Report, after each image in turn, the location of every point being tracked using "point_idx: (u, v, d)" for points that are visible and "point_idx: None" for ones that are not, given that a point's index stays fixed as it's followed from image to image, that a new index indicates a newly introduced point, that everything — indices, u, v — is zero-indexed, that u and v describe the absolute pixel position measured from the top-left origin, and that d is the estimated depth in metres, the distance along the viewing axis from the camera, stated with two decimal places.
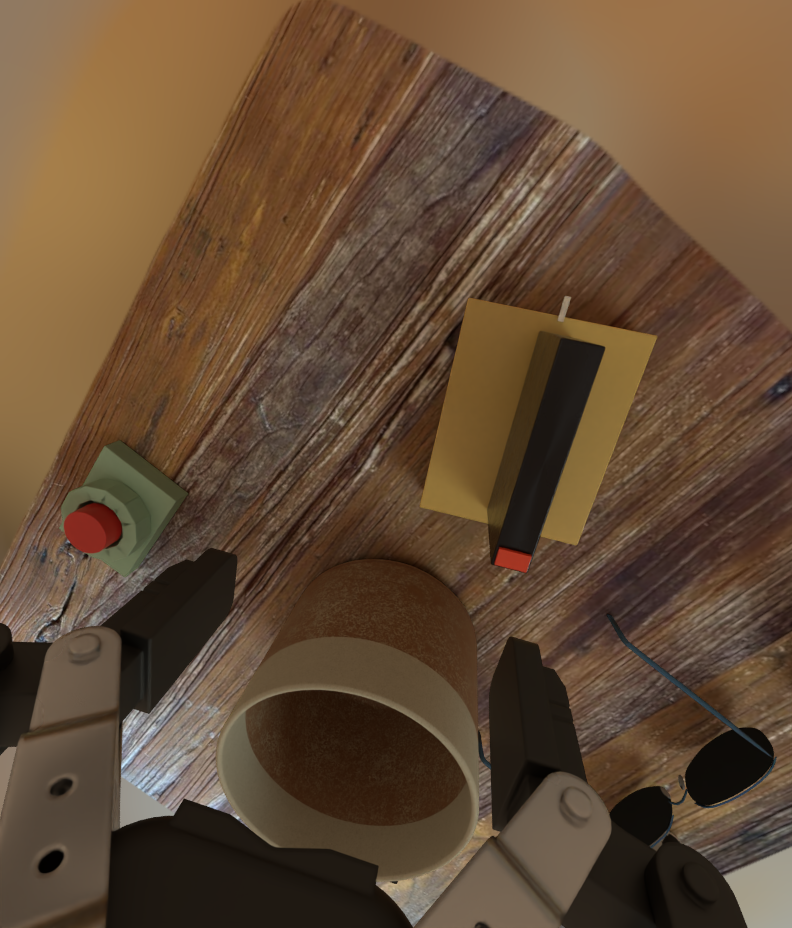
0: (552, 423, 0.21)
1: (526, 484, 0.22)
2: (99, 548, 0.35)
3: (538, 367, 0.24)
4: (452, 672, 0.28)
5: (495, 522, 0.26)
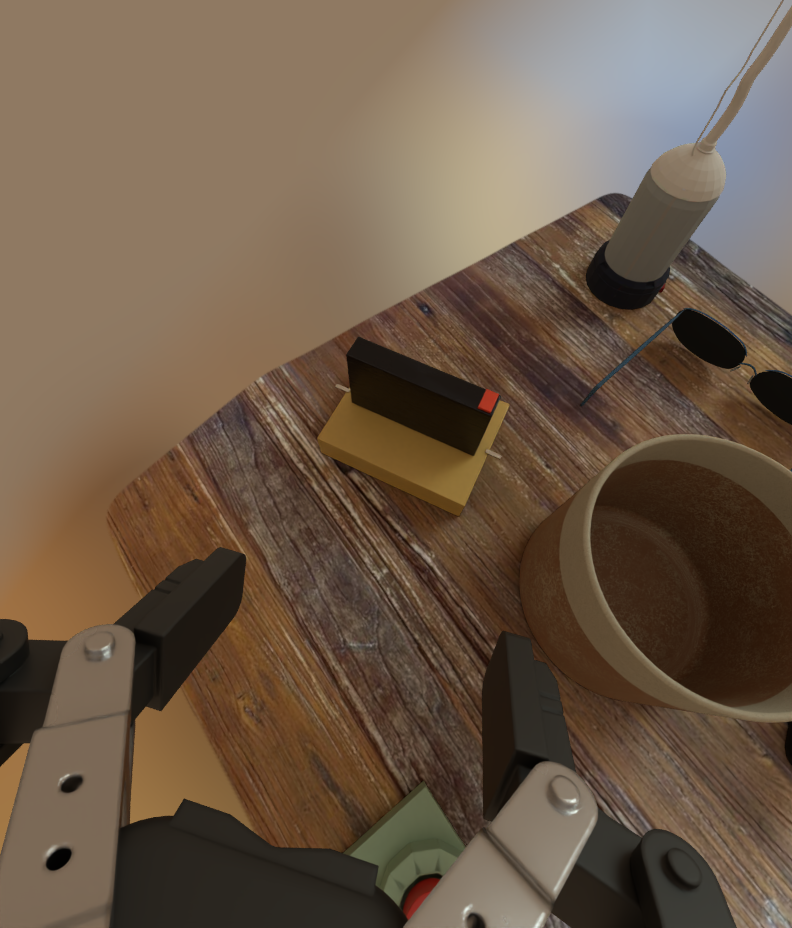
0: (395, 365, 0.34)
1: (433, 384, 0.33)
2: None
3: (367, 389, 0.37)
4: None
5: (468, 423, 0.35)
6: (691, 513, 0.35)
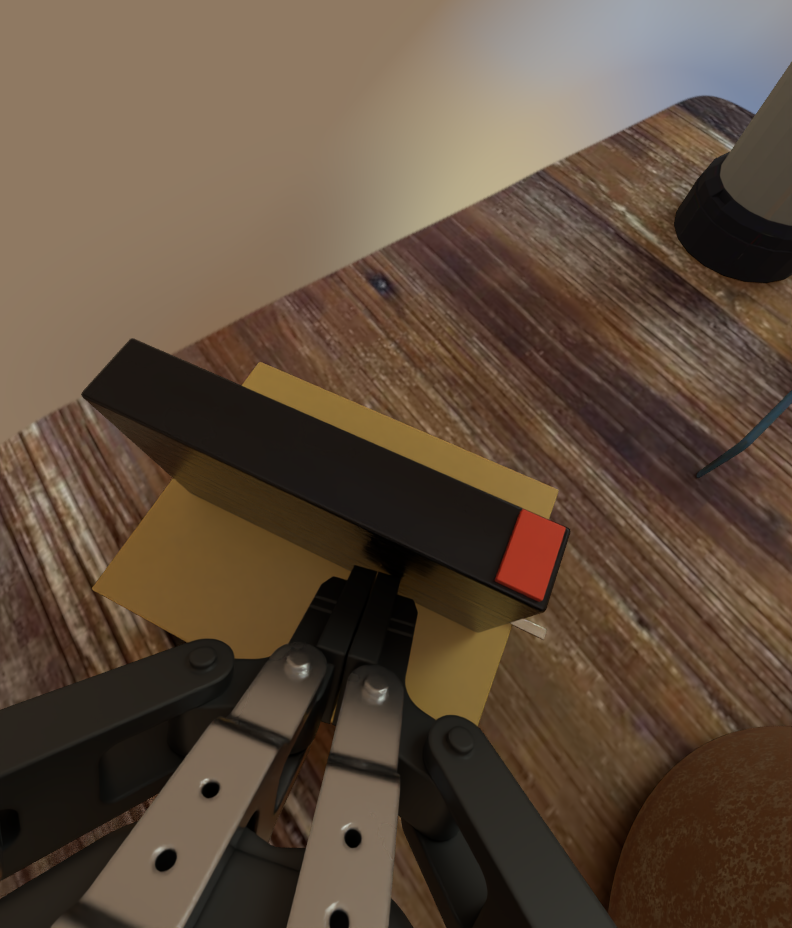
0: (227, 429, 0.11)
1: (345, 493, 0.10)
2: None
3: (193, 477, 0.14)
4: None
5: (462, 597, 0.12)
6: None
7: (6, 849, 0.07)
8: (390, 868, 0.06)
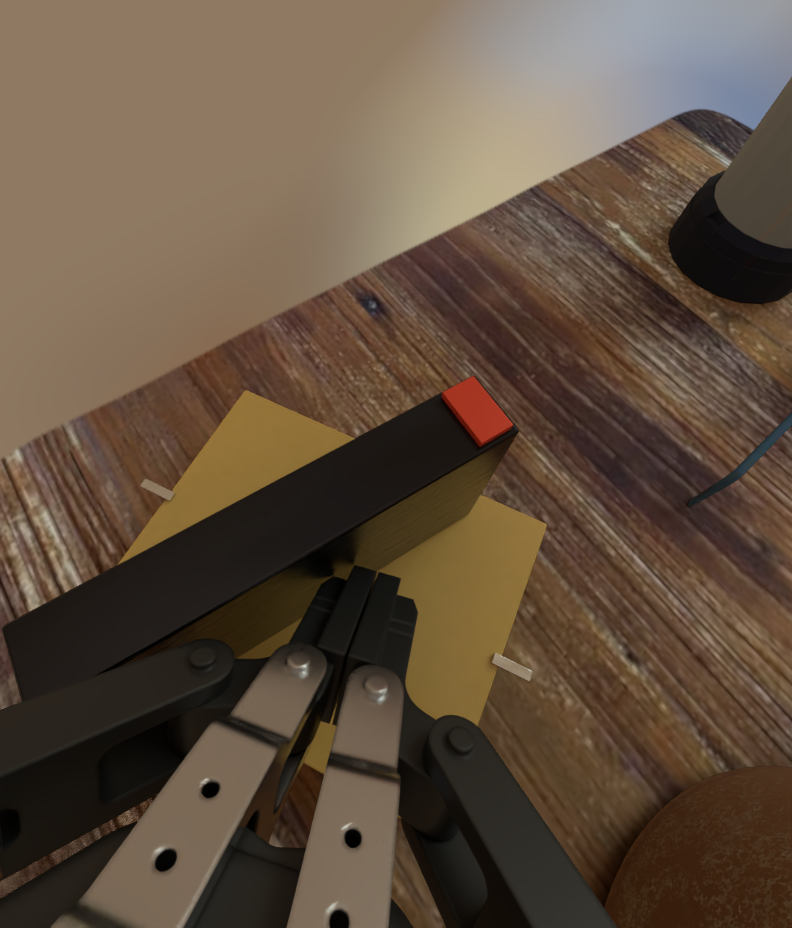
0: (200, 578, 0.10)
1: (339, 510, 0.10)
2: None
3: None
4: None
5: (460, 489, 0.13)
6: None
7: (6, 850, 0.07)
8: (390, 868, 0.06)
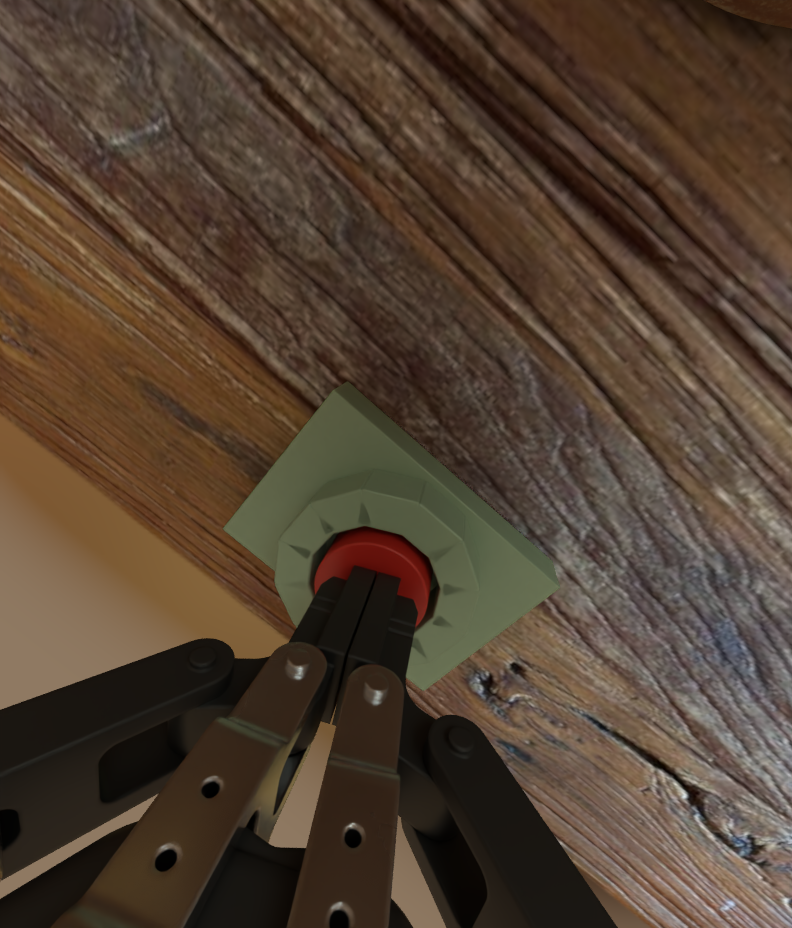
0: None
1: None
2: (410, 571, 0.13)
3: None
4: None
5: None
6: None
7: (6, 850, 0.07)
8: (390, 868, 0.06)
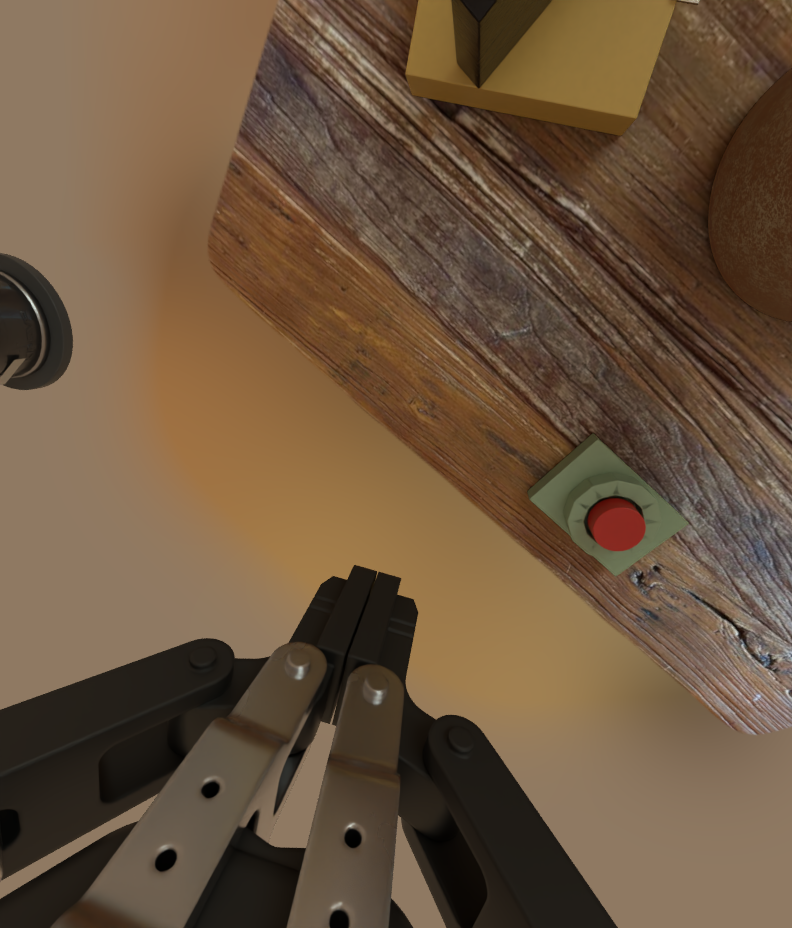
0: None
1: None
2: (640, 519, 0.32)
3: (505, 28, 0.23)
4: None
5: None
6: None
7: (6, 850, 0.07)
8: (390, 868, 0.06)
